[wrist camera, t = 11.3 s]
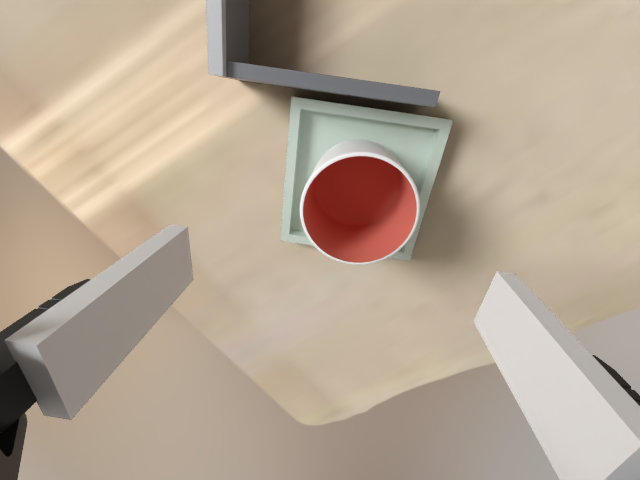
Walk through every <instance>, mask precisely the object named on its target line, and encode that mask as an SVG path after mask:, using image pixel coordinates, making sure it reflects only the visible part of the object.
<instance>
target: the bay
mask: <svg viewBox="0 0 640 480" xmlns="http://www.w3.org/2000/svg"><path fill="white" fill-rule="evenodd" d="M206 15H207V42H208V70H209V74H210V75H215V76H220V77H225V78H230V79H235V80H241V81H248V82H255V83H262V84H269V85H276V86H282V87H289V88H296V89H303V90H310V91H317V92H324V93H331V94H338V95H345V96H352V97H359V98H366V99H373V100H380V101H386V102H393V103H400V104H407V105H414V106H423V107H436V105H437V101H438V98H439V94H440V91H435V90H428V89H421V88H414V87H407V86H400V85H393V84H386V83H379V82H372V81H365V80H358V79H351V78H344V77H337V76H330V75H323V74H316V73H309V72H302V71H295V70H288V69H281V68H274V67H267V66H260V65H253V64H249V35H250V0H206Z"/></svg>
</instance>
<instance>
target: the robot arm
mask: <svg viewBox="0 0 640 480" xmlns="http://www.w3.org/2000/svg"><path fill="white" fill-rule="evenodd" d="M192 281H193V271H192V262H191V253H190V244H189V234H188V227H186V226H179V225H172V224H170V225H169V226H167V227H166V228H164V229H163V230H161V231H160V232H159V233H157V234H156V235H154V236H153V237H151V238H150V239H149V240H147V241H146V242H144V243H143V244H141V245H140V246H138V247H137V248H136V249H134V250H133V251H131V252H130V253H128V254H127V255H126V256H124V257H123V258H121V259H120V260H118V261H117V262H116V263H114V264H113V265H111V266H110V267H108V268H107V269H106V270H104V271H103V272H101V273H100V274H98V275H97V276H96V277H94V278H93V279H91V280H90V279H86V280H84V281H81V282H79V283H76V284H74V285H72V286H69V287H67V288H66V289H64V290H63V291H61V292H60V293H58V294H57V295H55V296H54V297H52V299H51V300H48V301H46V302H45V303H43V304H42V305H40V306H39V308H38V309H34V310H33V311H31V312H30V313H28V314H27V315H25V316H24V317H22V318H21V319H19V320H18V321H16V322H15V323H13V324H12V325H10V326H9V327H7V328H6V329H4V330H3V331H1V332H0V480H17V478H18V473H19V467H20V461H21V455H22V450H23V444H24V438H25V432H26V427H27V418H26V414H25V412H26V411H27V410H28V409H29V408H30V407H31V406H32V405H33V404H34V403H35V402H36V401H37V403H38V405H39V407H40V409H41V411H42V413H43V415H45V416H51V417H57V418H63V419H69V420H72V418H73V417H74V416H75V415H76V414H77V413H78V412H79V411H80V409H81V408H82V407H83V406H84V405H85V404H86V402H87V401H88V400H89V399H90V398H91V397H92V396H93V394H94V393H95V392H96V391H97V390H98V389H99V388H100V386H101V385H102V384H103V383H104V382H105V380H107V378H108V377H109V376H110V375H111V374H112V373H113V371H114V370H115V369H116V368H117V367H118V366H119V364H120V363H121V362H122V361H123V360H124V359H125V358H126V357H127V355H128V354H129V353H130V352H131V351H132V349H133V348H134V347H135V346H136V345H137V344H138V343H139V342H140V340H141V339H142V338H143V337H144V336H145V335H146V334H147V332H148V331H149V330H150V329H151V328H152V326H153V325H154V324H155V323H156V322H157V321H158V320H159V318H160V317H161V316H162V315H163V314H164V313H165V312H166V311H167V309H168V308H169V307H170V306H171V305H172V304H173V302H174V301H175V300H176V299H177V298H178V297H179V296H180V294H181V293H182V292H183V291H184V290H185V289H186V288H187V286H188V285H189V284H190V283H191V282H192ZM474 324H475V326H476V327H477V329H478V331H479V333H480V335H481V336H482V338H483V340H484V342H485V344H486V346H487V347H488V349H489V351H490V353H491V355H492V357H493V358H494V360H495V362H496V364H497V366H498V368H499V369H500V371H501V373H502V375H503V376H504V379H505V380H506V382H507V384H508V386H509V388H510V389H511V391H512V393H513V395H514V397H515V399H516V401H517V402H518V404H519V406H520V408H521V410H522V411H523V413H524V415H525V417H526V418H527V421H528V422H529V424H530V426H531V428H532V429H533V432H534V433H535V435H536V437H537V439H538V441H539V442H540V444H541V446H542V448H543V450H544V452H545V454H546V455H547V457H548V459H549V461H550V463H551V465H552V466H553V468H554V470H555V472H556V474H557V475H558V477H559V479H560V480H640V396H639V394H638V393H637V392H636V391H634V390H631V386H630V385H629V384H628V383H627V382H626V381H625V380H624V379H623V378H622V377H621V376H620V375H619V374H618V373H617V372H616V371H615V370H614V369H613V368H611V367H610V366H609V365H607V364H606V363H604V362H603V361H602V360H600V359H599V358H598V357H596V356H594V355H591V354H590V353H589V352H588V351H587V349H586V348H585V347H584V346H583V345H582V344H581V343H580V342H579V341H578V340H577V339H576V338H575V337H574V336H573V334H572V333H571V332H570V331H569V330H568V329H567V328H566V327H565V326H564V325H563V324H562V323H561V322H560V321H559V320H558V318H557V317H556V316H555V315H554V314H553V313H552V312H551V311H550V310H549V309H548V308H547V307H546V306H545V305H544V304H543V302H542V301H541V300H540V299H539V298H538V297H537V296H536V295H535V294H534V293H533V292H532V291H531V290H530V289H529V287H528V286H527V285H526V284H525V283H524V282H523V281H522V280H521V279H520V278H519V277H518V276H517V275H516V274H514V273H507V272H500V271H497V272H496V274H495V276H494V278H493V280H492V283H491V285H490V287H489V289H488V291H487V293H486V296H485V298H484V300H483V302H482V304H481V306H480V309H479V311H478V313H477V315H476V317H475V319H474Z"/></svg>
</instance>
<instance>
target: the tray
mask: <svg viewBox="0 0 640 480" xmlns="http://www.w3.org/2000/svg"><path fill="white" fill-rule="evenodd" d="M452 123H453V120H450V119H444V118H437V117H430V116H423V115H416V114H409V113H402V112H395V111H389V110H382V109H375V108H368V107H361V106H354V105H347V104H340V103H333V102H327V101H320V100H313V99H306V98H299V97H291V108H290V121H289V134H288V147H287V160H286V173H285V186H284V199H283V212H282V225H281V238H280V240H281V241H287V242H293V243H299V244H306V245H312V246H314V245H313V244H312V243H311V241H310V240H309V239H308V237H307V235H306V233H305V231H304V229H303V226H302V223H301V218H300V200H301V196H302V192H303V190H304V187H305V185H306V183H307V181H308V180H309V178H310V176H311V174H312V172H313V171H314V169H315V167H316V165H317V163H318V162H319V160H320V159H321V157H322V156H323V155H324V154H325V153H326V152H327V151H328V150H329V149H331V148H332V147H333V146H335V145H337V144H339V143H341V142H344V141H347V140H353V139H365V140H370V141H373V142H376V143H378V144H380V145H382V146H384V147H385V148H386V149H388V150H389V151H390V152H391V153H392V154H393V155H394V156H395V158H396V159H397V160H398V161H399V163H400V164H401V165H402V166H403V167H404V169H405V170H406V171H407V172H408V174H409V175H410V176H411V178H412V179H413V181H414V183H415V185H416V188H417V190H418V194H419V199H420V215H419V220H418V223H417V226H416V229H415V231H414V233H413V235H412V236H411V238H410V239H409V240H408V242H407V243H406V244H405V245H404V246H403V247H402V248H401V249H400V250H399V251H398V252H396V253H395V254H393V255H392V256H390V257H388V258H393V259H399V260H406V261H410V258H411V255H412V252H413V249H414V245H415V242H416V239H417V236H418V233H419V229H420V226H421V223H422V220H423V216H424V213H425V210H426V207H427V204H428V200H429V197H430V194H431V191H432V187H433V184H434V181H435V178H436V175H437V171H438V168H439V165H440V162H441V159H442V155H443V152H444V149H445V146H446V142H447V139H448V136H449V133H450V130H451V126H452Z"/></svg>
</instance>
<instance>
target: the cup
mask: <svg viewBox="0 0 640 480" xmlns="http://www.w3.org/2000/svg"><path fill="white" fill-rule="evenodd" d="M419 215H420V199H419V194H418V190H417V188H416V185H415V183H414V181H413V179H412V178H411V176H410V175H409V174H408V172H407V171H406V170H405V169H404V167H403V166H402V165H401V164H400V163H399V161H398V160H397V159H396V158H395V156H394V155H393V154H392V153H391V152H390V151H389V150H388V149H386V148H385V147H384V146H382V145H380V144H378V143H376V142H373V141H370V140H365V139H353V140H347V141H344V142H341V143H339V144H337V145H335V146H333V147H332V148H331V149H329V150H328V151H327V152H326V153H325V154H324V155H323V156H322V157H321V159H320V160H319V162H318V163H317V165H316V167H315V169H314V171H313V172H312V174H311V176H310V178H309V180H308V181H307V183H306V185H305V187H304V190H303V192H302V196H301V200H300V218H301V223H302V226H303V229H304V231H305V233H306V235H307V237H308V239H309V240H310V241H311V243H312V244H313V245H314V246H315V247H316V248H317V249H318V250H319V251H320V252H321V253H323V254H324V255H326V256H327V257H329V258H331V259H333V260H336V261H339V262H342V263H346V264H353V265H364V264H371V263H375V262H379V261H381V260H384V259H386V258H388V257H390V256H392V255H393V254H395V253H396V252H398V251H399V250H400V249H401V248H402V247H403V246H404V245H405V244H406V243H407V242H408V240H409V239H410V238H411V236H412V235H413V233H414V231H415V229H416V226H417V223H418V220H419Z"/></svg>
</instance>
